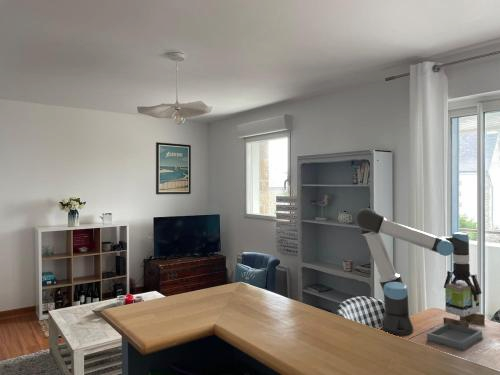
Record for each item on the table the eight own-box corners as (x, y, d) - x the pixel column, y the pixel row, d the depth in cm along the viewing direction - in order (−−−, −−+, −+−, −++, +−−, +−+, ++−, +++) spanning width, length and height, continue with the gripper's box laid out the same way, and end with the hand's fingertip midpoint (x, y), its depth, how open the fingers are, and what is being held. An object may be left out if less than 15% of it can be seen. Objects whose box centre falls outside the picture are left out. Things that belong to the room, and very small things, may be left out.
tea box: (464, 317, 189) (463, 288, 189) (445, 312, 198) (444, 284, 198) (480, 312, 197) (479, 283, 197) (461, 307, 205) (460, 280, 205)
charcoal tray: (427, 340, 179) (426, 333, 179) (448, 329, 192) (447, 322, 192) (462, 350, 167) (462, 342, 167) (482, 338, 179) (482, 331, 180)
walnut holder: (443, 327, 196) (443, 317, 196) (460, 318, 207) (460, 309, 208) (468, 333, 186) (467, 323, 186) (484, 324, 198) (484, 314, 198)
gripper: (488, 264, 191) (489, 308, 190) (442, 258, 209) (443, 298, 209) (482, 266, 186) (483, 311, 186) (435, 260, 204) (436, 301, 204)
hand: (462, 304), depth 197 cm, fingers closed on tea box, 10 cm apart
